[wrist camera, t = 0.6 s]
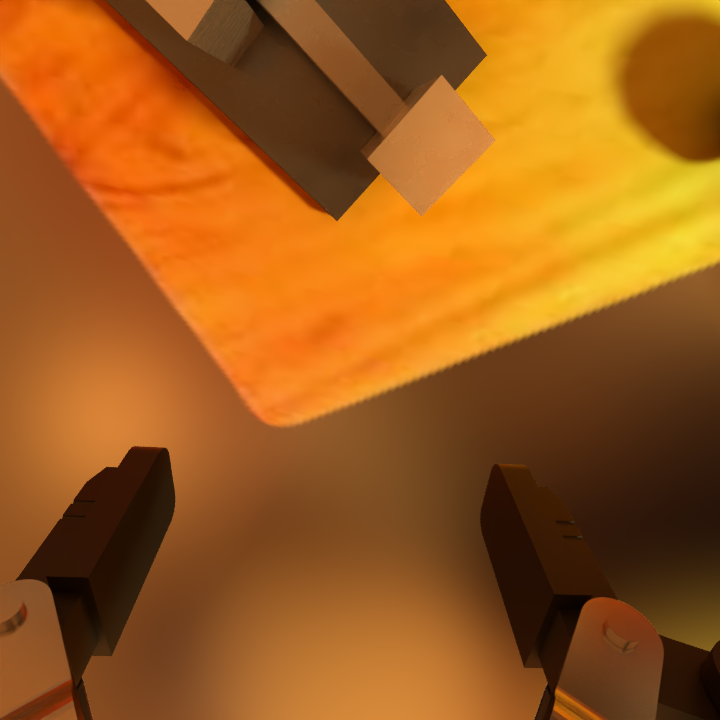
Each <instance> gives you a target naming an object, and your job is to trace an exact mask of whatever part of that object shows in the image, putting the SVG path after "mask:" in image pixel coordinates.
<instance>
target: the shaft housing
mask: <svg viewBox="0 0 720 720" xmlns="http://www.w3.org/2000/svg"><path fill="white" fill-rule="evenodd" d="M106 1H107V2H108V3H109V4H110V5H111V6H112V7H113V8H114V9H115V10H116V11H117V12H118V13H119V14H120V15H122V16H123V17H124V18H125V19H126V20H127V21H128V22H129V23H130V24H131V25H132V26H133V27H134V28H135V29H136V30H137V31H138V32H139V33H140V34H141V35H142V36H144V37H145V38H146V39H147V40H148V41H149V42H150V43H151V44H152V45H153V46H154V47H155V48H156V49H157V50H158V51H159V52H160V53H161V54H162V55H163V56H164V57H166V58H167V59H168V60H169V61H170V62H171V63H172V64H173V65H174V66H175V67H176V68H177V69H178V70H179V71H180V72H181V73H182V74H183V75H184V76H185V77H187V78H188V79H189V80H190V81H191V82H192V83H193V84H194V85H195V86H196V87H197V88H198V89H199V90H200V91H201V92H202V93H203V94H204V95H205V96H206V97H207V98H209V99H210V100H211V101H212V102H213V103H214V104H215V105H216V106H217V107H218V108H219V109H220V110H221V111H222V112H223V113H224V114H225V115H226V116H227V117H228V118H229V119H231V120H232V121H233V122H234V123H235V124H236V125H237V126H238V127H239V128H240V129H241V130H242V131H243V132H244V133H245V134H246V135H247V136H248V137H249V138H250V139H251V140H253V141H254V142H255V143H256V144H257V145H258V146H259V147H260V148H261V149H262V150H263V151H264V152H265V153H266V154H267V155H268V156H269V157H270V158H271V159H272V160H274V161H275V162H276V163H277V164H278V165H279V166H280V167H281V168H282V169H283V170H284V171H285V172H286V173H287V174H288V175H289V176H290V177H291V178H292V179H293V180H294V181H296V182H297V183H298V184H299V185H300V186H301V187H302V188H303V189H304V190H305V191H306V192H307V193H308V194H309V195H310V196H311V197H312V198H313V199H314V200H315V201H316V202H318V203H319V204H320V205H321V206H322V207H323V208H324V209H325V210H326V211H327V212H328V213H329V214H330V215H331V216H332V217H333V218H334V219H335V220H336V221H338V220H339V218H340V217H341V216H342V215H343V214H344V213H345V212H346V211H347V210H348V208H349V207H350V206H351V205H352V204H353V203H354V202H355V201H356V200H357V199H358V197H359V196H360V195H361V194H362V193H363V192H364V191H365V190H366V189H367V187H368V186H369V185H370V184H371V183H372V182H373V181H374V180H375V179H376V177H377V176H378V175H379V174H380V172H379V171H378V170H377V169H376V168H375V167H374V166H373V165H372V164H371V163H370V162H369V161H368V160H367V159H366V157H365V156H364V155H363V154H362V153H361V150H362V148H363V147H364V146H365V145H366V144H367V143H368V142H369V140H370V139H371V138H372V137H373V136H374V135H375V134H376V132H377V131H376V130H375V129H374V128H373V127H372V126H371V124H370V123H369V122H368V121H367V120H366V119H365V118H364V117H363V116H362V115H361V114H360V113H359V111H358V110H357V109H356V108H355V107H354V106H353V105H352V104H351V103H350V102H349V101H348V100H347V98H346V97H345V96H344V95H343V94H342V93H341V92H340V91H339V90H338V89H337V88H336V87H335V85H334V84H333V83H332V82H331V81H330V80H329V79H328V78H327V77H326V76H325V75H324V74H323V72H322V71H321V70H320V69H319V68H318V67H317V66H316V65H315V64H314V63H313V62H312V61H311V59H310V58H309V57H308V56H307V55H306V54H305V53H304V52H303V51H302V50H301V49H300V48H299V46H298V45H297V44H296V43H295V42H294V41H293V40H292V39H291V38H290V37H289V36H288V35H287V33H286V32H285V31H284V30H283V29H282V28H281V27H280V26H279V25H278V24H277V23H276V22H275V20H274V19H273V18H272V17H271V16H270V15H269V14H268V13H267V12H266V11H265V10H264V9H263V7H262V6H261V5H260V4H259V3H258V2H257V1H256V0H106ZM315 1H316V2H317V3H318V4H319V6H320V7H321V8H322V9H323V10H324V11H325V12H326V14H327V15H328V16H329V17H330V18H331V19H332V20H333V22H334V23H335V24H336V25H337V26H338V27H339V28H340V30H341V31H342V32H343V33H344V34H345V35H346V36H347V38H348V39H349V40H350V41H351V42H352V43H353V44H354V46H355V47H356V48H357V49H358V50H359V51H360V52H361V54H362V55H363V56H364V57H365V58H366V59H367V60H368V62H369V63H370V64H371V65H372V66H373V67H374V69H375V70H376V71H377V72H378V73H379V74H380V75H381V77H382V78H383V79H384V80H385V81H386V82H387V83H388V85H389V86H390V87H391V88H392V89H393V90H394V91H395V93H396V94H397V95H398V96H399V97H400V98H401V99H402V101H404V100H405V99H406V98H407V97H408V96H409V94H410V93H411V92H412V91H413V90H414V89H415V88H417V87H419V86H421V85H423V84H425V83H427V82H428V81H430V80H432V79H434V78H436V77H438V76H440V75H442V76H443V77H444V78H445V79H446V80H447V82H448V83H449V84H450V85H451V87H452V88H453V89H454V90H456V89H457V88H458V87H459V86H460V84H461V83H462V82H463V81H464V80H465V79H466V78H467V77H468V76H469V74H470V73H471V72H472V71H473V70H474V69H475V68H476V67H477V66H478V64H479V63H480V62H481V61H482V60H483V59H484V58H485V57H486V56H487V55H486V53H485V52H484V51H483V49H482V48H481V47H480V46H479V44H478V43H477V42H476V40H475V39H474V38H473V36H472V35H471V34H470V33H469V31H468V30H467V29H466V27H465V26H464V25H463V23H462V22H461V21H460V19H459V18H458V17H457V16H456V14H455V13H454V12H453V10H452V9H451V8H450V6H449V5H448V4H447V2H446V1H445V0H315Z"/></svg>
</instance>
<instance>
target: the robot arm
mask: <svg viewBox="0 0 720 720" xmlns="http://www.w3.org/2000/svg"><path fill="white" fill-rule="evenodd" d="M174 508H175V490H174V483H173V477H172V470H171V463H170V456H169V452H168V450H167V449H166V448H157V447H138V446H137V447H136V446H135V447H132V448H131V449H130V450H129V451H128V453H127V454H126V456H125V457H124V459H123V460H122V462H121V463H120V465H119V466H118V468H116V467H106V468H105V469H104V470H102V471H101V472H100V473H98V474H97V475H95V476H94V477H93V478H91V479H90V480H89V481H87V482H86V484H85V485H84V486H83V488H82V489H81V490H80V492H79V493H78V495H77V496H76V497H75V499H74V502H73V504H70V506H69V507H68V509H67V510H66V511H65V513H64V514H63V518H62V519H60V520H59V521H58V522H57V524H56V525H55V527H54V528H53V530H52V531H51V532H50V534H49V535H48V536H47V538H46V539H45V541H44V542H43V543H42V545H41V546H40V547H39V549H38V550H37V552H36V553H35V555H34V556H33V557H32V559H31V560H30V561H29V563H28V564H27V566H26V567H25V568H24V570H23V571H22V573H21V574H20V575H19V577H18V578H17V579H16V580H15V581H13V582H9V583H6V584H4V585H1V586H0V720H93V717H92V713H91V709H90V705H89V701H88V697H87V693H86V689H85V685H84V681H83V678H82V675H83V673H84V670H85V669H86V666H87V664H88V662H89V660H90V658H91V656H112V654H113V652H114V650H115V647H116V645H117V643H118V641H119V638H120V636H121V634H122V631H123V629H124V627H125V624H126V623H127V620H128V618H129V616H130V613H131V611H132V609H133V606H134V604H135V602H136V600H137V598H138V595H139V593H140V591H141V588H142V586H143V584H144V582H145V579H146V577H147V575H148V573H149V570H150V568H151V566H152V564H153V561H154V559H155V557H156V554H157V552H158V550H159V548H160V545H161V543H162V541H163V539H164V536H165V534H166V532H167V530H168V527H169V525H170V523H171V520H172V517H173V513H174ZM480 524H481V531H482V535H483V538H484V542H485V545H486V548H487V551H488V554H489V557H490V561H491V564H492V567H493V570H494V573H495V577H496V580H497V583H498V586H499V589H500V592H501V596H502V599H503V602H504V605H505V608H506V611H507V615H508V618H509V621H510V624H511V627H512V631H513V634H514V637H515V640H516V643H517V646H518V650H519V652H520V655H521V658H522V662H523V665H524V667H526V668H543V670H544V673H545V676H546V679H547V682H548V683H547V685H546V687H545V690H544V692H543V695H542V698H541V701H540V704H539V707H538V710H537V713H536V716H535V719H534V720H720V641H718V642H717V643H716V644H715V645H714V647H713V648H712V650H711V651H710V652H709V651H706V650H703V649H700V648H697V647H694V646H691V645H687V644H685V643H682V642H679V641H675V640H672V639H669V638H667V637H664V636H661V635H659V634H658V633H657V631H656V630H655V628H654V627H653V625H652V624H651V623H650V622H649V621H648V620H647V619H646V618H645V617H644V616H643V615H642V614H641V613H639V612H638V611H637V610H635V609H634V608H632V607H631V606H629V605H628V604H625V603H623V602H621V601H619V600H618V599H617V597H616V596H615V594H614V592H613V590H612V588H611V587H610V585H609V583H608V581H607V579H606V578H605V576H604V574H603V572H602V570H601V569H600V567H599V565H598V563H597V562H596V559H595V558H594V556H593V554H592V552H591V550H590V549H589V547H588V545H587V543H586V542H585V540H583V538H582V537H583V536H582V534H581V532H580V530H579V529H578V527H577V525H574V520H573V518H572V516H571V514H570V513H569V511H568V509H567V507H566V505H565V504H564V502H562V501H561V499H559V498H558V497H557V496H556V495H555V494H554V493H553V492H552V491H551V490H550V489H549V488H548V487H538V486H537V484H536V482H535V480H534V478H533V476H532V474H531V472H530V470H529V469H528V468H527V466H525V465H510V464H495V465H494V466H493V467H492V470H491V473H490V477H489V480H488V484H487V488H486V492H485V495H484V499H483V503H482V507H481V513H480Z"/></svg>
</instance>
